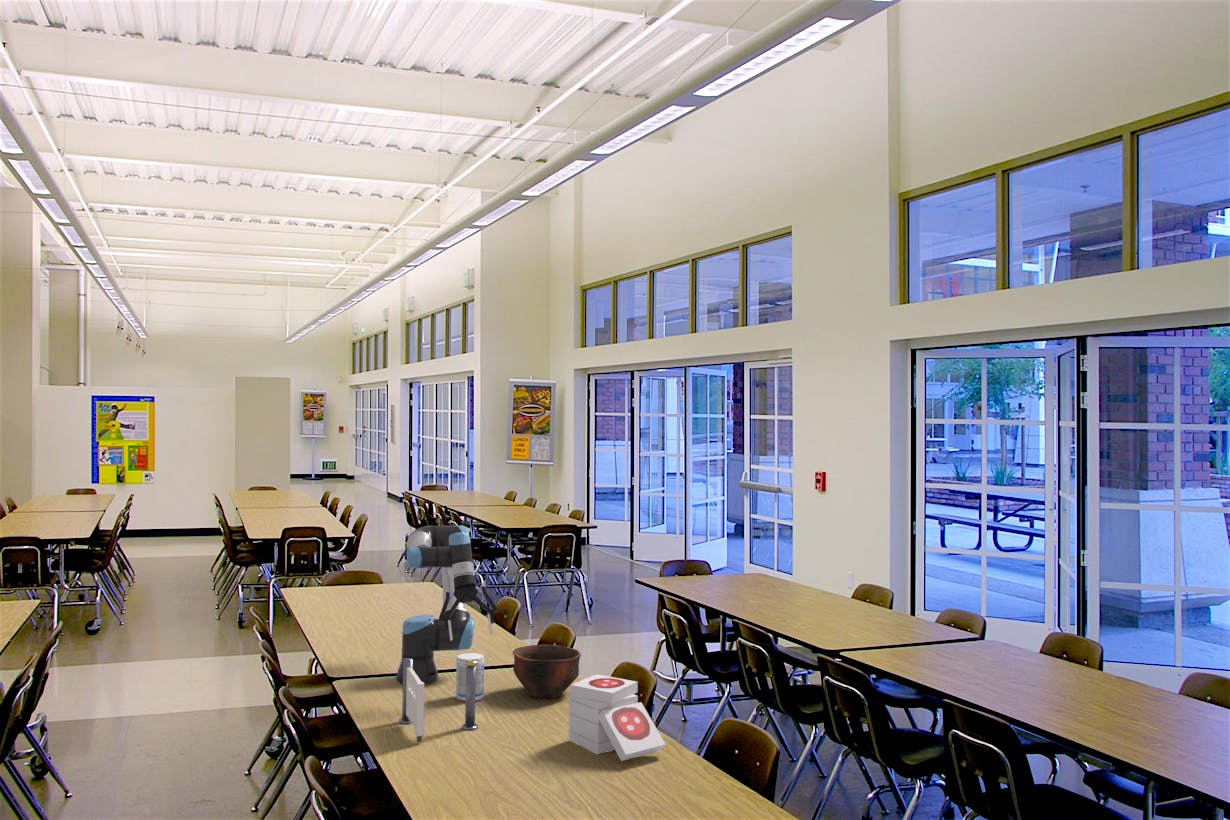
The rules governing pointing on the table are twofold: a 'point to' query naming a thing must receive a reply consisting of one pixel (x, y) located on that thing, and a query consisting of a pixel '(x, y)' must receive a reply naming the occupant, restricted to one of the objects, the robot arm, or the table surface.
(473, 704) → the latch post
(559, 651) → the bowl
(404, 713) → the hinge post
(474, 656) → the supplement tub
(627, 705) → the pizza boxes
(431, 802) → the table surface
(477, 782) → the table surface
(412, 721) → the gate
